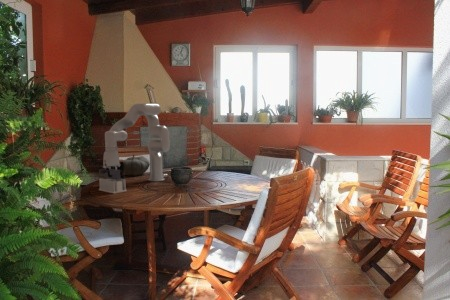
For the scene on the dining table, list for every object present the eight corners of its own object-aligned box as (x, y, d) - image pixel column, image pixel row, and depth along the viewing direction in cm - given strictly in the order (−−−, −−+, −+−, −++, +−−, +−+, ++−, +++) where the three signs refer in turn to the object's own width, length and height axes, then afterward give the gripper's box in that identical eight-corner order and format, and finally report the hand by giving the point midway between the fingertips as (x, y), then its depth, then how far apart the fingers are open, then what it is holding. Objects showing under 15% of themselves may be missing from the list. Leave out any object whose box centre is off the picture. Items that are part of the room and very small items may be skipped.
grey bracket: (108, 177, 283) (108, 168, 282) (120, 178, 273) (120, 170, 273) (99, 178, 277) (99, 169, 277) (111, 180, 268) (110, 171, 268)
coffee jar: (120, 186, 294) (119, 161, 292) (107, 185, 296) (106, 161, 294) (127, 183, 305) (126, 159, 303) (114, 183, 307) (113, 159, 305)
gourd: (152, 168, 360) (149, 149, 355) (149, 178, 336) (145, 158, 331) (124, 172, 359) (120, 153, 354) (118, 181, 335) (114, 161, 330)
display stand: (111, 187, 288) (111, 176, 287) (126, 191, 276) (126, 179, 275) (98, 190, 280) (98, 178, 279) (113, 193, 268) (113, 181, 268)
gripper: (118, 148, 284) (119, 174, 286) (97, 150, 272) (98, 177, 273) (124, 148, 279) (125, 175, 281) (103, 150, 267) (104, 178, 269)
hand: (112, 176), depth 277 cm, fingers closed on grey bracket, 3 cm apart
